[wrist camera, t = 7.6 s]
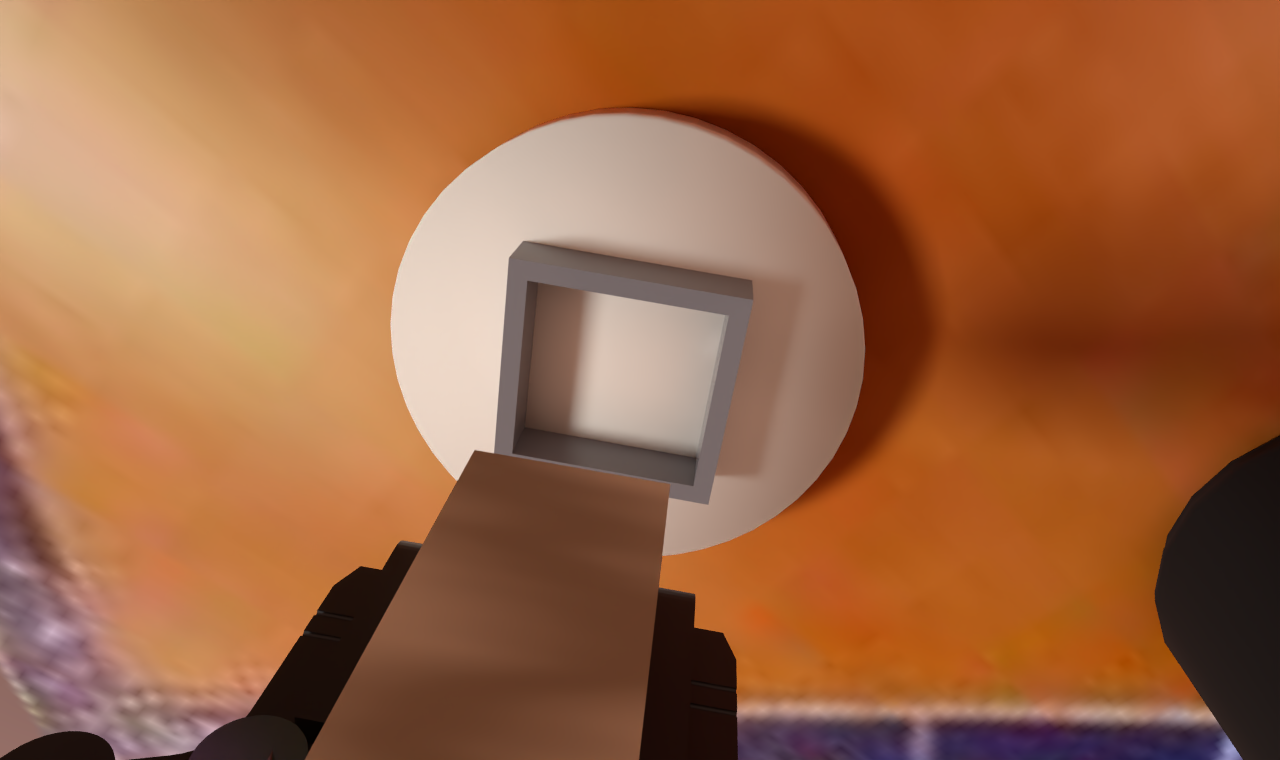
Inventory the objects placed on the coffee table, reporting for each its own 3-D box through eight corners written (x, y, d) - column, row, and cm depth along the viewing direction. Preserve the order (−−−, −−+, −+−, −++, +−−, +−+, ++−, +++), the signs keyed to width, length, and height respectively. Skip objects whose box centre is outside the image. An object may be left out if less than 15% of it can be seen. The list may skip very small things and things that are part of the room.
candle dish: (911, 151, 21) (943, 179, 18) (796, 550, 27) (805, 625, 23) (421, 70, 21) (367, 82, 18) (411, 480, 27) (369, 544, 24)
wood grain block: (670, 484, 14) (590, 1188, 6) (642, 633, 15) (547, 1356, 7) (474, 450, 14) (120, 1095, 6) (465, 601, 15) (175, 1281, 7)
